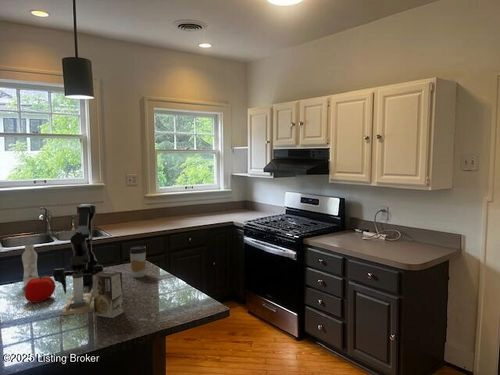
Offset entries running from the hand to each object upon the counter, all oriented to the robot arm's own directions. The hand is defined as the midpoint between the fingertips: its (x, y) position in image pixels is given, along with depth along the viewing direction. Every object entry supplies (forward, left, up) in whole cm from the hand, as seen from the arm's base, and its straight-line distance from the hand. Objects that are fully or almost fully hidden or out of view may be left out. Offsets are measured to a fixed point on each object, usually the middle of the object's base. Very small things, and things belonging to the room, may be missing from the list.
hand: (77, 291), depth 145 cm
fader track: (-5, +4, -8) cm, 10 cm away
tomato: (-25, -4, -8) cm, 26 cm away
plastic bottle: (-49, +2, -8) cm, 50 cm away
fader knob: (-1, +1, -6) cm, 6 cm away
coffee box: (+13, +5, -8) cm, 16 cm away
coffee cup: (-19, +42, -8) cm, 47 cm away
